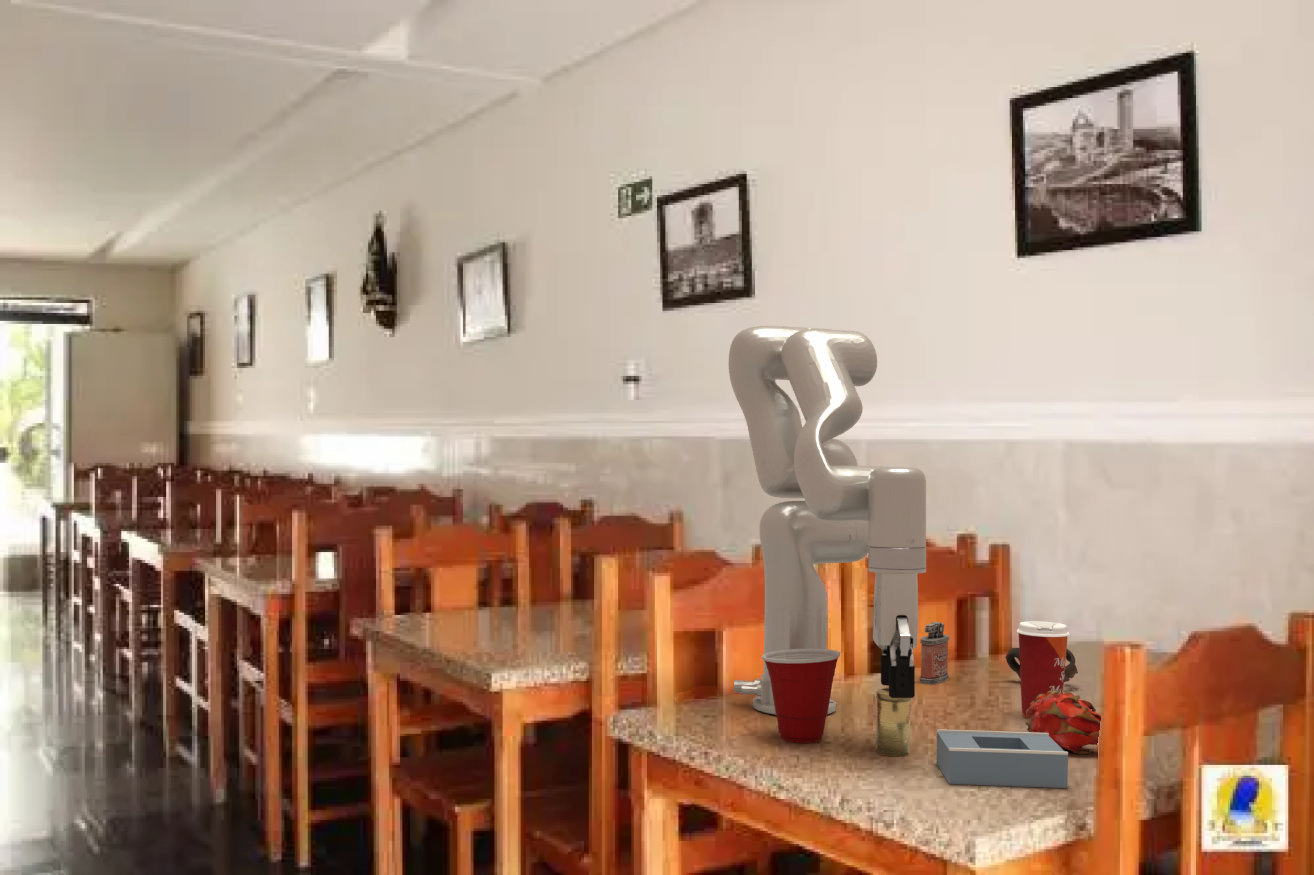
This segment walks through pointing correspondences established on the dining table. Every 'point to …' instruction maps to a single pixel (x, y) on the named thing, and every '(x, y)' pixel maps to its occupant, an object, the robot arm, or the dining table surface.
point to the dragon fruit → (1065, 720)
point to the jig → (1001, 758)
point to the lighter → (934, 654)
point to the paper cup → (1041, 659)
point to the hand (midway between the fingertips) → (897, 691)
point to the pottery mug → (1010, 657)
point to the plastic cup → (801, 691)
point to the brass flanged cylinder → (892, 724)
